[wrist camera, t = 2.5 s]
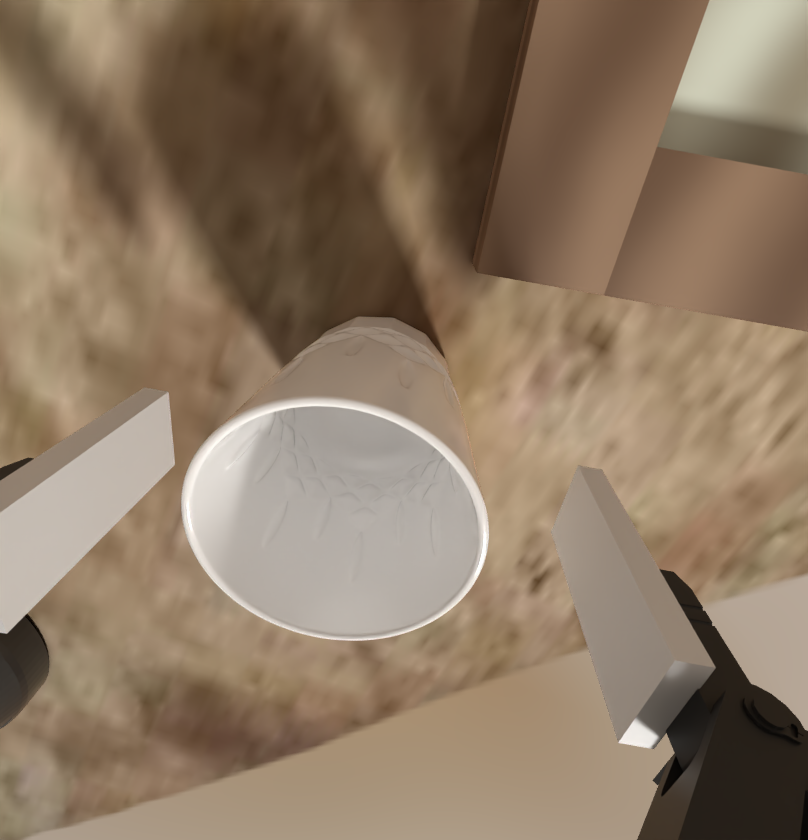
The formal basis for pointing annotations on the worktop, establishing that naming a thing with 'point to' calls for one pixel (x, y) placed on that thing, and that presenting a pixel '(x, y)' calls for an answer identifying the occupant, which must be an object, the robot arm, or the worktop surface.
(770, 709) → the robot arm
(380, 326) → the white cup
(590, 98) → the wooden picture frame
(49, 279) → the worktop surface
